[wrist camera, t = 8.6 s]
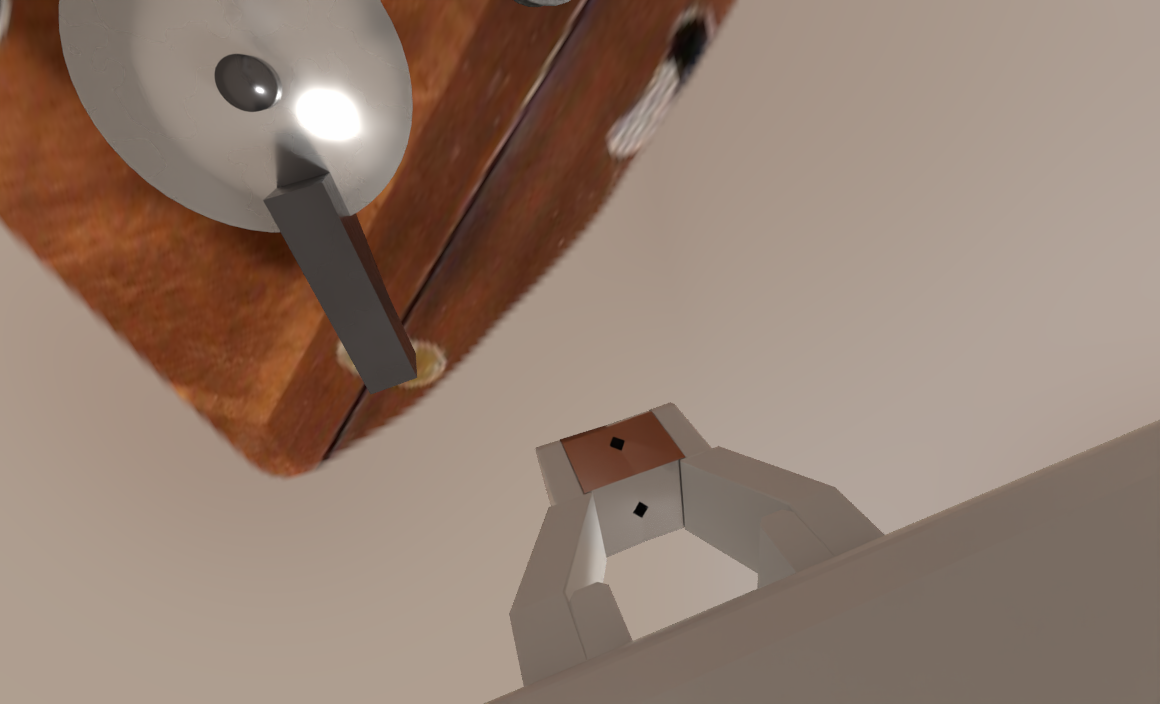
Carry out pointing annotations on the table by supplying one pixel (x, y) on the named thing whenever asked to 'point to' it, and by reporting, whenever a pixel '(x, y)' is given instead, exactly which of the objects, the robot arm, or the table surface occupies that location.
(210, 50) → the lid
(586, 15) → the table surface
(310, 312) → the table surface
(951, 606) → the robot arm
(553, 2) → the grey round vessel
